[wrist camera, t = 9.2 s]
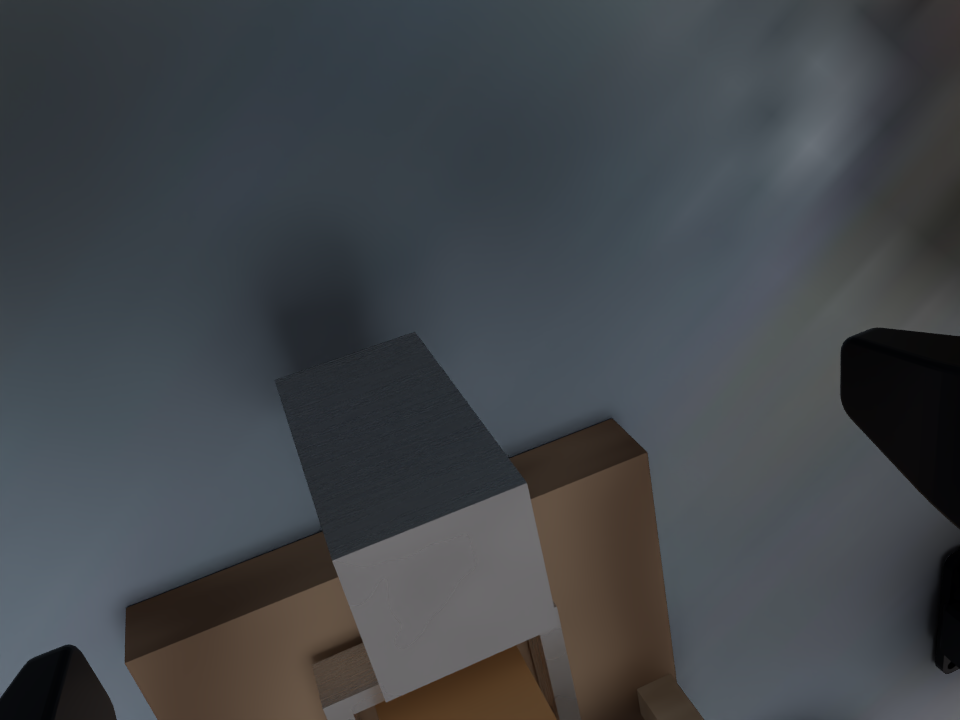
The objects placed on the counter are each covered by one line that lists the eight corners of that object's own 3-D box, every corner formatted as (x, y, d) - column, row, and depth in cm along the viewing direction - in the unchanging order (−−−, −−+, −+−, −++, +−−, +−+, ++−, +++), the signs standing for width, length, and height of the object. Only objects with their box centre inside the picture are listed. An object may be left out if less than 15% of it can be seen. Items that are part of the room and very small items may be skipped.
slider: (470, 291, 19) (622, 444, 13) (567, 720, 26) (695, 948, 20) (192, 386, 17) (219, 605, 12) (374, 810, 24) (449, 1084, 19)
